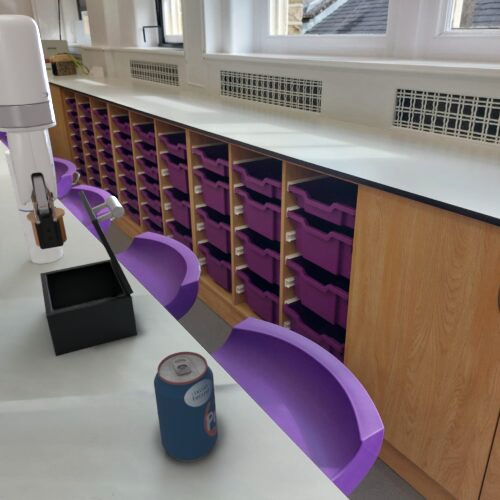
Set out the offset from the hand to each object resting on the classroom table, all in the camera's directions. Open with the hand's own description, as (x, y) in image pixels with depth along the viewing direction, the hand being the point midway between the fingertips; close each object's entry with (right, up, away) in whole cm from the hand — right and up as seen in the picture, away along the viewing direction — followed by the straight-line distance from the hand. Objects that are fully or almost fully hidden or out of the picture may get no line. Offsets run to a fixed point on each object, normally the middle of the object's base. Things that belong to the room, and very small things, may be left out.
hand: (50, 238), depth 73 cm
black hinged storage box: (+2, -16, +12) cm, 20 cm away
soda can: (+22, -26, -12) cm, 36 cm away
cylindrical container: (-17, -4, +40) cm, 44 cm away
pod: (0, 0, 0) cm, 0 cm away
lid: (+6, 0, +7) cm, 9 cm away
